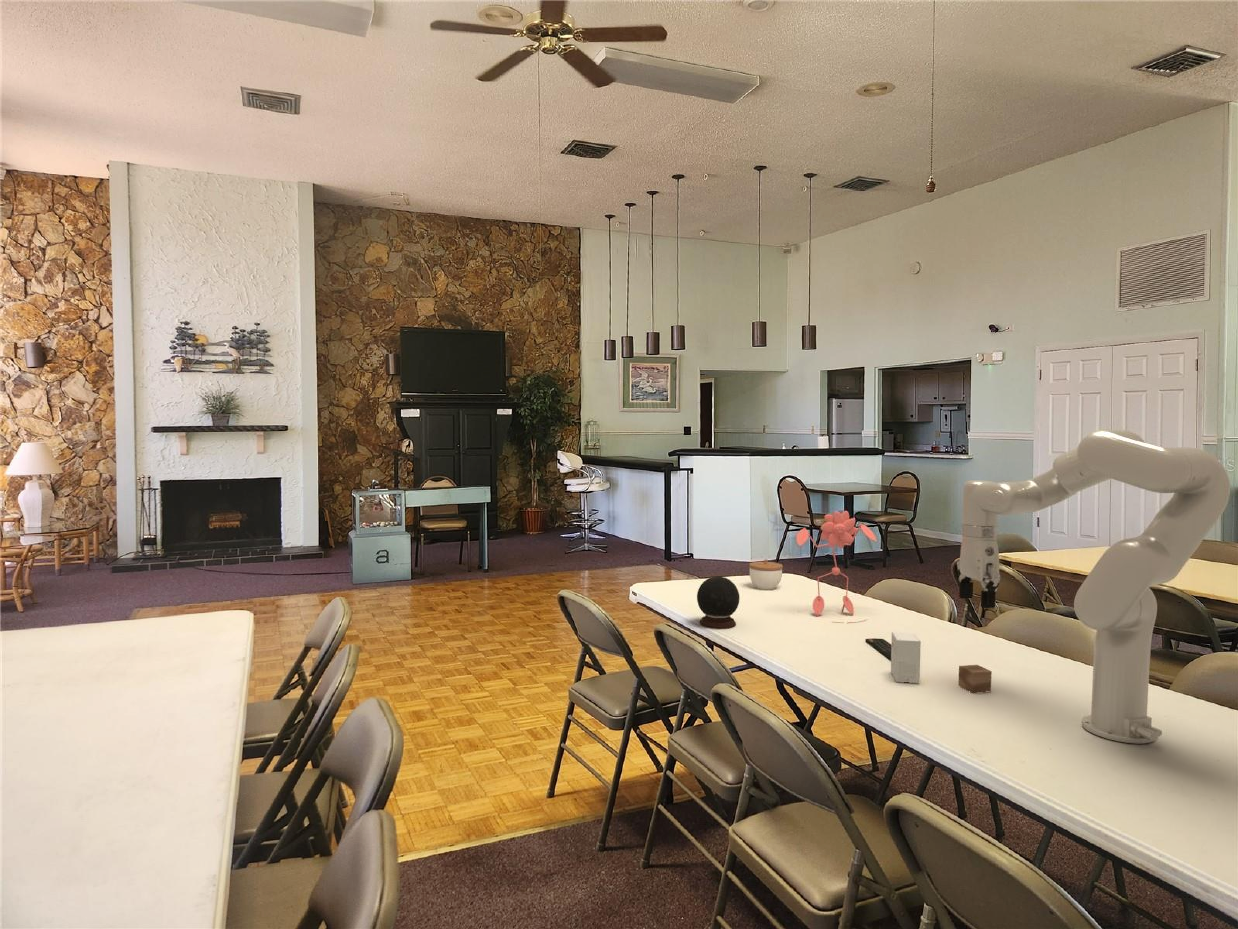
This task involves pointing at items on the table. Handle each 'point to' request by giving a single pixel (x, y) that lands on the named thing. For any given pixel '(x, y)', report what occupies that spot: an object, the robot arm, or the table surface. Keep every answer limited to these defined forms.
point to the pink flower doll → (837, 534)
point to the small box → (905, 657)
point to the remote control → (881, 646)
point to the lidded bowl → (765, 574)
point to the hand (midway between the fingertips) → (976, 602)
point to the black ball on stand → (718, 602)
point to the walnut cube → (974, 678)
